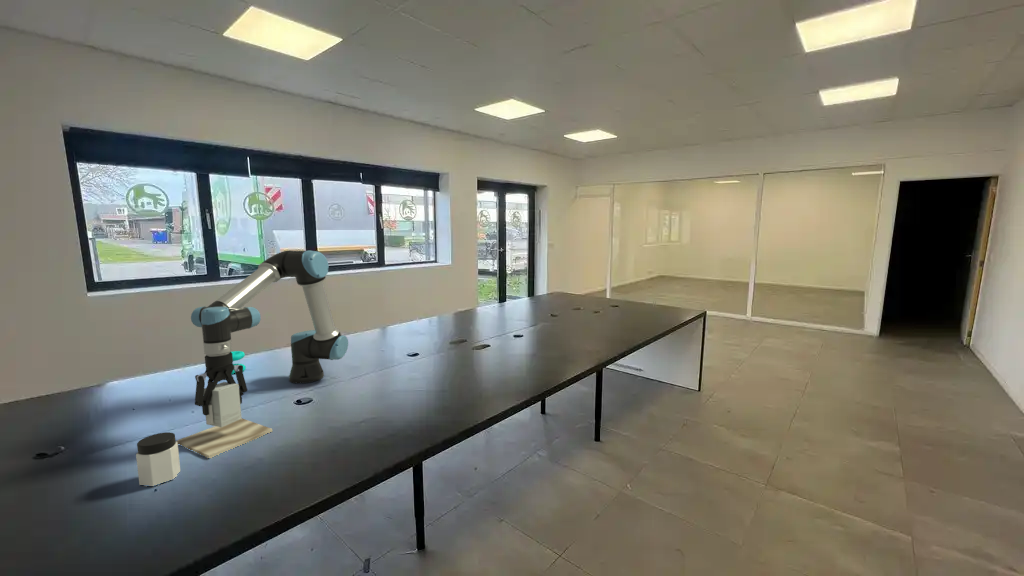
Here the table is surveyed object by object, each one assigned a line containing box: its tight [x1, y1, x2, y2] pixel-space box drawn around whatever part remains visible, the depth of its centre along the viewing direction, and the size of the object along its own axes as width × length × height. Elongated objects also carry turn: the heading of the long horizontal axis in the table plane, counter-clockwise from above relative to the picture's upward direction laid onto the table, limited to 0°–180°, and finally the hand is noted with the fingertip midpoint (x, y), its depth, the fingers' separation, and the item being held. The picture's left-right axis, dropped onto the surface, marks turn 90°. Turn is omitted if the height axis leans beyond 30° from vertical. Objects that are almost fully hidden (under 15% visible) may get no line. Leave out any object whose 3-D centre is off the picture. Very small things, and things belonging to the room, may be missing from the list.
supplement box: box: [204, 381, 242, 427], centre depth 138 cm, size 7×7×13 cm
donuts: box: [230, 350, 247, 375], centre depth 206 cm, size 10×10×10 cm
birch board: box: [176, 417, 273, 459], centre depth 139 cm, size 20×20×1 cm
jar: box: [135, 431, 181, 486], centre depth 115 cm, size 9×8×12 cm
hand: (224, 418), depth 138 cm, fingers closed on supplement box, 8 cm apart
